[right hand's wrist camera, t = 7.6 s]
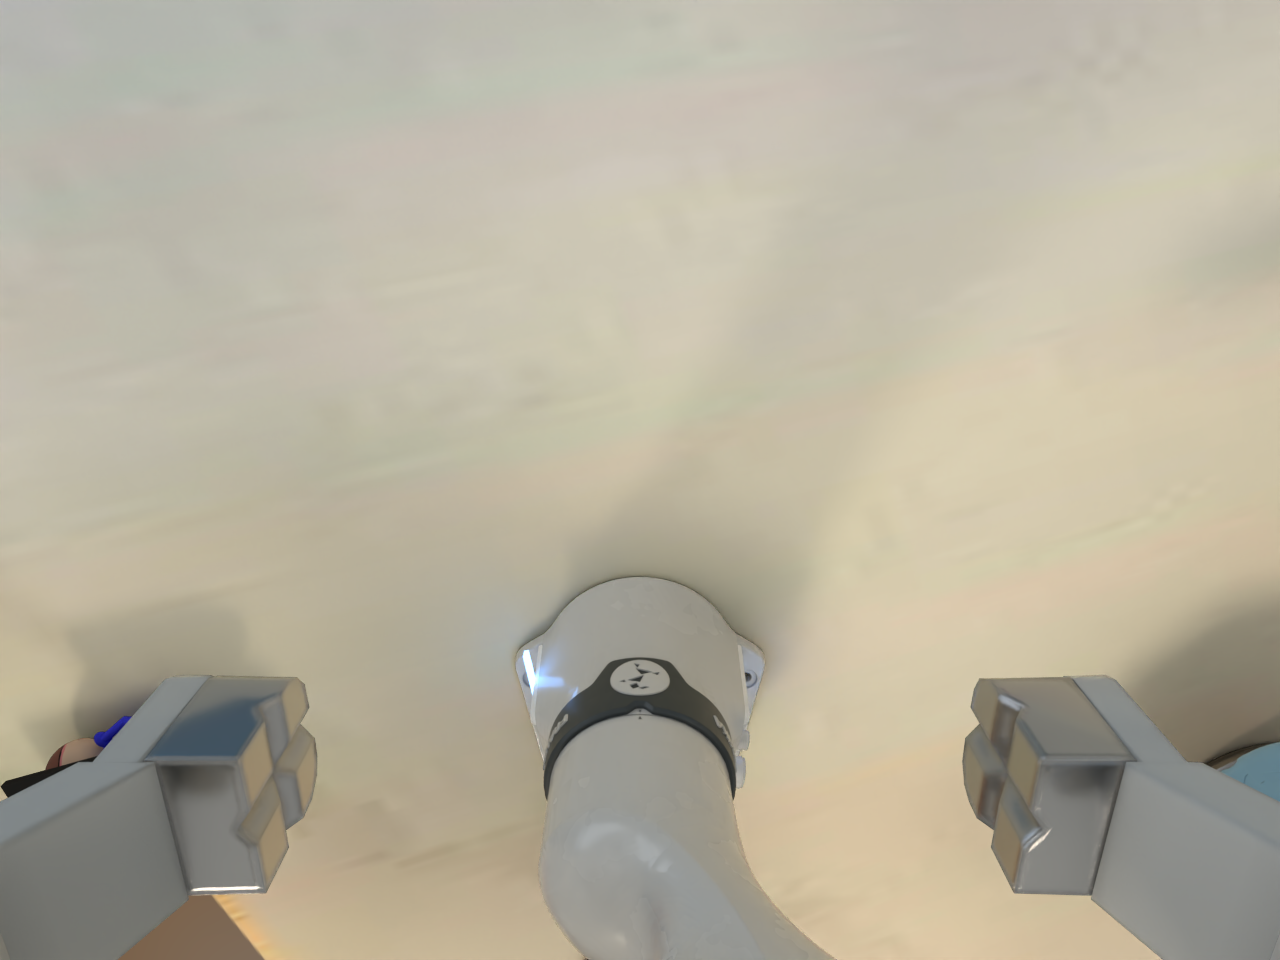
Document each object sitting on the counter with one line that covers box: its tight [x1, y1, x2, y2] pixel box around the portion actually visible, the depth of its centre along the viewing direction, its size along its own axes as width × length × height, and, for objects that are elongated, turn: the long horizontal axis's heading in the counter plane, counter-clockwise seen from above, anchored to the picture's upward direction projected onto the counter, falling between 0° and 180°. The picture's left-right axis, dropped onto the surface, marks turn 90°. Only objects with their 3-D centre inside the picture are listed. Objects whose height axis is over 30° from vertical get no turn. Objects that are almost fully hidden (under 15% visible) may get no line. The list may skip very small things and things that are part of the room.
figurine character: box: [1, 716, 131, 798], centre depth 66 cm, size 7×8×15 cm
